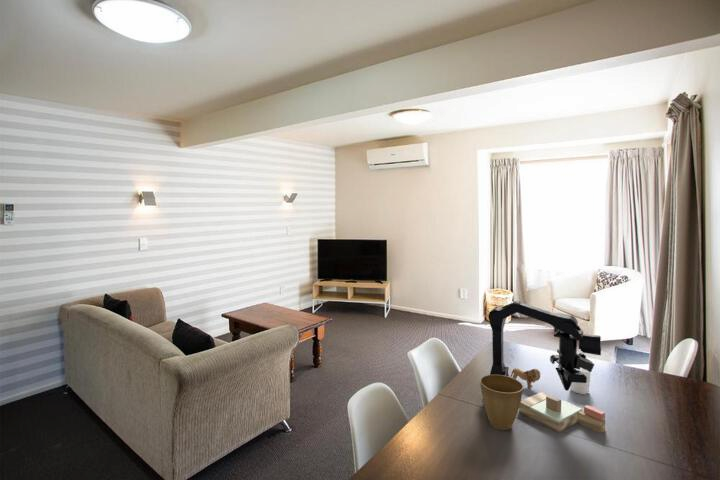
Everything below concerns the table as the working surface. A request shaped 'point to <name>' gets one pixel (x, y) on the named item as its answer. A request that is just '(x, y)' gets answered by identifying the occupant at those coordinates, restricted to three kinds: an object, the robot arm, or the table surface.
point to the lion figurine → (527, 375)
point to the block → (594, 412)
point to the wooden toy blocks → (561, 426)
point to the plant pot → (501, 399)
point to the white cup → (581, 387)
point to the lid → (555, 409)
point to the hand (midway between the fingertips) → (566, 390)
